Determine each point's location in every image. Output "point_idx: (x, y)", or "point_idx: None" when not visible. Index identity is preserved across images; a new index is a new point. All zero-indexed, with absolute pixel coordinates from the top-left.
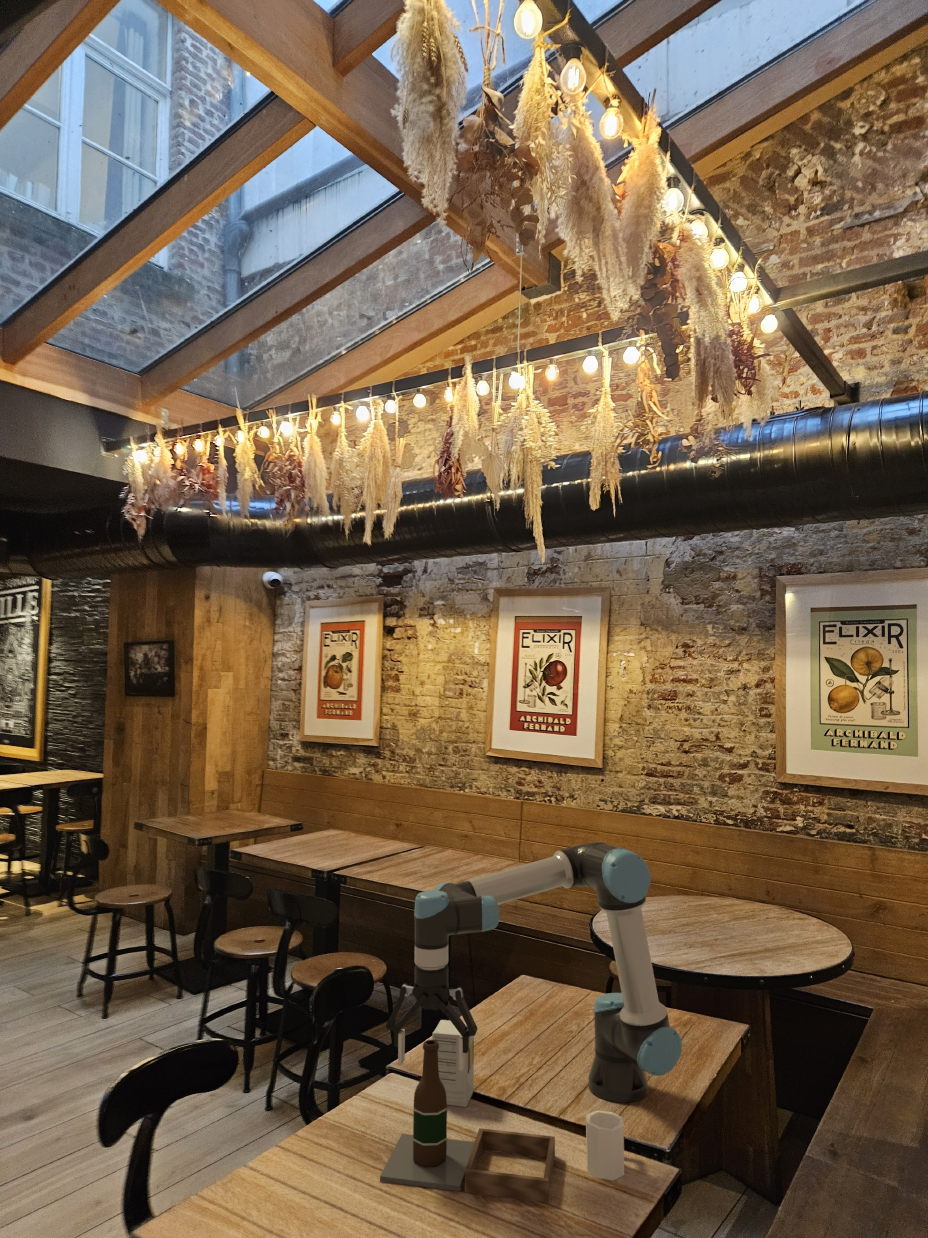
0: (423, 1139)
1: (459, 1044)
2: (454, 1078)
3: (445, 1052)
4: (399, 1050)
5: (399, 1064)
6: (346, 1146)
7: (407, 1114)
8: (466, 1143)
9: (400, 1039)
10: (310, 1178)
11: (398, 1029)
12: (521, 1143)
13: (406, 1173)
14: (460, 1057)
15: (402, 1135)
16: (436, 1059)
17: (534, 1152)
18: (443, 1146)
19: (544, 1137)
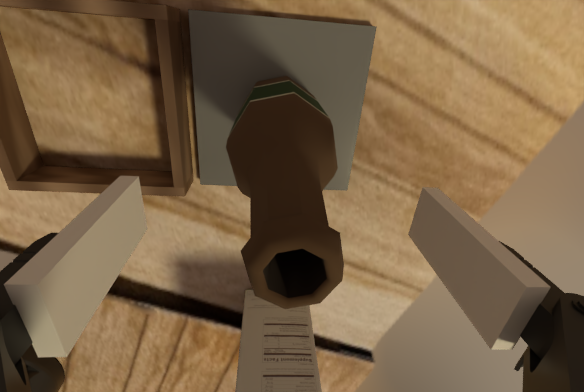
0: (289, 82)
1: (58, 254)
2: (266, 327)
3: (288, 374)
4: (471, 222)
5: (433, 188)
6: (448, 147)
7: (343, 257)
8: (215, 176)
9: (508, 261)
10: (522, 19)
11: (577, 318)
12: (92, 176)
13: (319, 46)
14: (98, 206)
15: (345, 185)
16: (256, 211)
17: (72, 169)
18: (243, 104)
19: (29, 183)
